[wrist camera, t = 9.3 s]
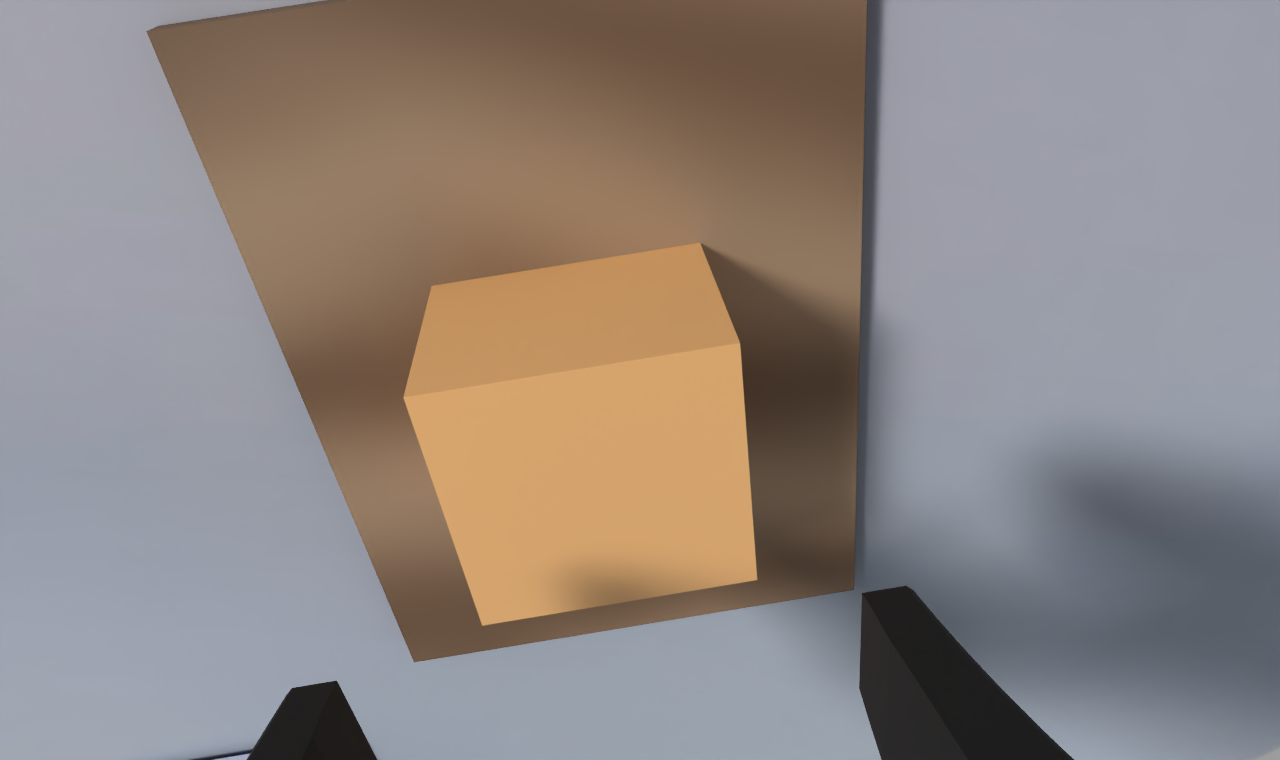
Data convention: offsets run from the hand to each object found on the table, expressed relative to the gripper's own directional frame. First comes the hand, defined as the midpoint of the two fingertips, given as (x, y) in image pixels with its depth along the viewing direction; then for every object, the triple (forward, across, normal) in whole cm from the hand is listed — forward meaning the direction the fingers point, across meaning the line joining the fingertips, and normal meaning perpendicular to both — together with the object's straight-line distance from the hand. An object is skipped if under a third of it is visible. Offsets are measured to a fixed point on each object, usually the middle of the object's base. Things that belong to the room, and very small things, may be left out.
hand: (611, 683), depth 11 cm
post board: (+8, 0, 0) cm, 8 cm away
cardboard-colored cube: (+8, 0, 0) cm, 8 cm away
